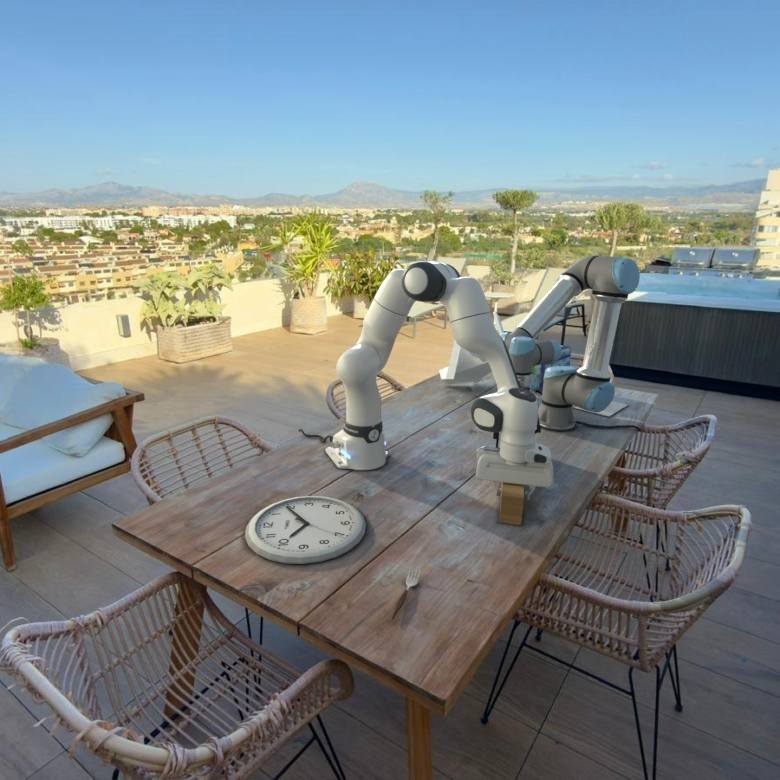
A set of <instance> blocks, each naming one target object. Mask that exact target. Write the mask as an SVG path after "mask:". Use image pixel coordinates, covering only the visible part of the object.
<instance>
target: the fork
mask: <svg viewBox="0 0 780 780" xmlns="http://www.w3.org/2000/svg"><path fill="white" fill-rule="evenodd" d="M412 568H413V565H410V569H409V572H408V574H407V577H406V579H405V584H406V589H405V590H404V591H403V593H402V594H401V596H400V597H399V599H398V601H397V604H396V607H395V609H394V612H393V614H392V617H391V620H394V619H395V617H396V615H397V614H398V613H399V611H400V609H401V608H402V607H403V605H404V603H405V601H406V598H407V596H408V592H409V590H410V588H413V587H415V586H417V585H418V583H419V579H420V575H421V572H422V568H420V569H419V567H416V566H414V568H413V569H412ZM415 569H416V571H415ZM418 570H419V572H418Z"/></svg>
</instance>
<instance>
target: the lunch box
mask: <svg viewBox="0 0 780 780" xmlns="http://www.w3.org/2000/svg"><path fill="white" fill-rule="evenodd" d="M560 346H561V350H562V352H561V357H560V358H559V360H557V361H556V362H552V363H550V364H542V365H536V366H533V367H532V376H531V385H530V386H529V387H530V390H531V391H537V392H540V393H541V394H542V391H543V380H544V379H543V378H544V375H545V370H546V369H547V368H549V367H555V366H570V367H571V356H572V351H571V350H572V349H571V347H570V346H569V345H561V344H560Z"/></svg>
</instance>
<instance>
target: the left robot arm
mask: <svg viewBox="0 0 780 780" xmlns="http://www.w3.org/2000/svg"><path fill="white" fill-rule="evenodd" d="M416 302H419V303H440V304H442V305H443V306H444V308H445V309H446V313H447V316H448V320H449V321H448V322H449V324H450V325H449V326H450V329H451V333H452V336H453V339H455V341H456V343H457V344H458V345H459V346H460V347H462V348H463V349H465V350H467V351H470V352H473V353H476V354H479V355H481V356H482V357H484V358H485V359H486V360H487V361H488V363H489V365H490V367H491V370H492V372H491V373H492V375H493V378H494V381H495V384H496V387H497V391H496V392H493V393H488V394H486V395H483V396H480V397H478V398H476V399H475V400H474V401H473V403H472V405H471V407H470V417H471V420H472V422H473V424H474V425H475V426H476V428H478V429H479V430H481V431H484V432H489V433H494V432H495V433H497V432H498V433H499V435H500V439H499V440H500V441H499V447H498V448H496V446H492V447H491V446H487V445H483V446H482V447H479V448H477V449H476V451H475V452H476V453H475V459H476V460H477V464H476V471H475V477H476V479H478V480H481V481H487V482H491V485H492V487H493V489H494V496H497V497H501V487H499V486H498V483H502V482H504V483H512V484H520V485H524V486H529V487H528V489H527V490H524V500H528V501H530V500H531V499H530V498H531V495H532V493H533V492H535V490H536V487H537V488H546V489H551V488H552V487H553V486H554V483H555V482H554V481H555V479H554V478H555V475H554V465H553V461H552V451H551V449H550V448H549V446H545V445H542V444H541V443H538V442H536V433H535V430H536V427H537V420H538V409H539V407H538V405H539V402H538V399H537V396H536V395H535V394H534V393H533V392H532V391H531V390H530V391H529V390H526V389H523V388H522V387H521V385H520V383H519V380H518V377H517V375H516V372H515V369H514V366H513V363H512V360H511V358H510V355H509V352H508V349H507V347H506V345H505V342H504V341H503V339H502V337H501V336H500V335H499V331H498V329H496V328H497V327H495V326H496V325H495V323H494V321H493V318H492V315H491V311H490V310H491V309H490V307H489V303H488V301H487V297H486V295H485V292H484V290H483V287H482V285H481V283H480V282H479V280H477V278H474V277H472V276H462V277H461V274H460V272H459V271H458V270H457V269H456V267H454V266H452V265H451V264H449V263H444V262H441V261H436V260H434V261H433V260H431V261H426V260H418V261H415V262H413V263H411V264H409V265H408V266H407V267H406V268H405V269H404V268H395V269H393V270H391V271H390V272H389V273H388V274H387V276H386V277H385V279H383V281H382V282H381V285H379V288H378V290H377V291H376V293H375V295H374V297H373V299H372V301H371V304H370V306H369V307H368V310H367V312H366V314H365V316H364V318H363V320H362V329H361V332H360V336H359V338H358V340H357V342H356V343H355V344H354V345H353V346H352V347H350V348H349V349H347V350H344V352H343V353H342V355H341V356H340V357H339V359H338V361H337V362H336V369H335V370H336V375H337V376H338V378H339V379H340V381H341V382H342V385H343V390H344V395H345V408H346V409H345V412H346V413H345V415H346V418H342V420H343V421H342V423H344V424H343V427H342V429H341V430H340V431H338V432H336V433H332V434H330V435H326V436H325V437H323V436H322V435H319V434H307V433H306V432H304V430H303V429H302V428H299V429H298V432H299V433H300V432H301V434H302V435H303V436H305V437H307V438H319V439H321V442H322V443H325V442H326V441H327V439H328V438H329V442H330V443H331V445H329V446H328V447H326V448H325V453H326V454H327V455H328V457H329V458H330V460H332V462H333V463H334V464H335V466H336V467H337V468H338V469H341V470H345V469H347V470H353V471H372V470H376V469H379V468H381V467H383V466H384V465H385V464H386V461H387V458H388V457H389V452H388V451H386V450H387V449H386V445H387V441H386V437H385V433H384V432H383V429H384V428H383V427H384V424H383V423H384V422H383V419H382V395H381V393H380V392H379V389H378V382H377V378H378V377H377V376H378V374H379V373H380V372H382V370H383V369H385V366H386V365H387V363H388V361H389V358H390V356H391V353H392V351H393V348H394V346H395V342H396V340H397V338H398V335H399V333H400V331H401V330H402V327H403V325H404V324H405V321H406V320H407V318H408V315H409V314H410V312H411V309H412V307H413V306H414V304H415V303H416ZM534 433H535V435H534Z"/></svg>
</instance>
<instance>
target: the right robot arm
mask: <svg viewBox="0 0 780 780" xmlns="http://www.w3.org/2000/svg"><path fill="white" fill-rule="evenodd" d="M640 276H641V275H640V269H639V266H638V264H637V262H636V261H635V260H634V259H632V258H630V257H623V256H608V255H589V256H585V257H583V258H581V259H579V260H577V261H576V262H574V263H572V264H571V265H570V266H569V267H567V269H565V270H564V271H563V272H562V273H561V274H560V275H559V276H558V278H557V283H556V284H554V286H553V287H552V288H551V289H550V290H549V291H548V292H547V293H546V295H545V296H544V297H543V298H542V299H541V300H540V301H539V302H538V303H537V305H535V307H533V309H532V310H531V311H530V312H529V313H528V314H527V315H526V316H525V317H524V318H523V319H522V321H521V322H520V323H519V324H518V325H517V326H516V327H515V328H514V329H513V330H512V332H510V331H506V332H505V331H504V333H503V334H501V335H500V336H501V337H502V339H503V341H504V342H505V345H506V347H507V349H508V352H509V355H510V358H511V360H512V363H513V366H514V369H515V372H516V375H517V377H518V380H519V383H520V385H521V387H522V388H523V389H526V390H529V391H530V392H531V389H530V387H529V386H530V385H531V376H532V367H533V366H536V365H542V364H550V363H552V362H556V361H557V360H559V358H560V357H561V352H562V350H561V346H560V345H561V344H560V343H559V342H558V341H556V340H555V339H546V340H543V339H542V340H541V339H538V337H539V336H540V334H541V333H542V332H543V331H544V330H545V329H546V328H547V326H548V325H550V324H551V322H552V321H553V320H554V319H555V318H556V316H558V314H560V312H561V311H562V310H563V309H564V308H565V307H566V306H567V305H568V304H569V302H570V301H572V299H573V298H574V297H578V296H579V295H580V294H582V292H584V291H586V290H592V292H591V296H592V298H593V299H594V306H593V310H592V314H591V315H592V316H591V320H590V325H589V331H588V334H587V335H588V336H587V340H586V344H585V350H584V355H583V360H582V365H581V367H580V368H578V369H577V367H575V366H571V365H570V366H555V367H549V368H547V369H546V370H545V375H544V378H543V379H544V380H543V391H542V393H541V402H540V405H539V404H538V420H537V427H536V430H535V433H534V435H535V436H536V434H540V433H541V432H542V429H544V430H549V431H556V432H567V431H572V430H574V429H575V428H576V424H577V425H581V426H586V427H590V428H597V429H636V430H637V432H642V431H643V430H642V429H641V427H639V426H637V425H633V424H619V425H618V424H617V425H601V424H600V425H599V424H593V423H588V422H587V423H586V422H582V421H579V420H578V421H577V420H576V418H575V417H576V416H575V413H574V407H576V406H577V407H580V408H582V409H585V410H586V411H585V412H588V411H592V412H601V411H603V410H604V409H606V408H607V407H608V406H609V405H610V403H611V402H612V401H614V397H615V393H616V389H615V385H614V384H613V383H612V382H611V379H612V378H611V377H612V376H611V374H610V373H609V371H608V370H609V364H610V360H611V355H612V351H613V345H614V341H615V336H616V331H617V327H618V322H619V319H620V313H621V308H622V304H623V303H624V302H626V301H627V300H628V298H629V295H631V294H633V293H634V292H636V290H637V288H638V286H639V284H640ZM573 406H574V407H573ZM592 412H591V413H592ZM492 433H493V434H492V435H493V436H492V438H493V440H496V442H495V447H496V448H499V444H500V441H499V440H500V433H498V432H497V433H495V432H492Z"/></svg>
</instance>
